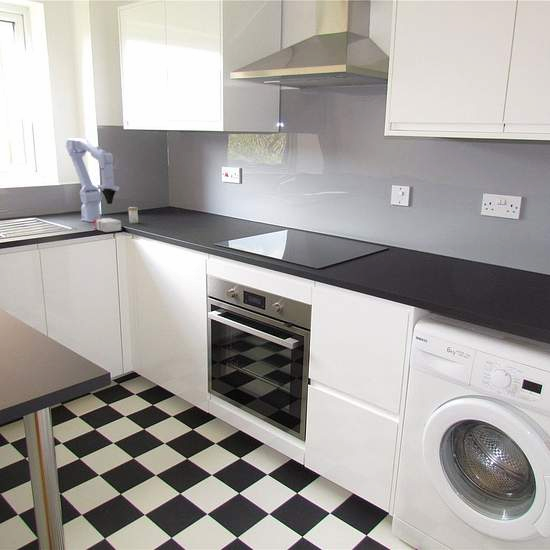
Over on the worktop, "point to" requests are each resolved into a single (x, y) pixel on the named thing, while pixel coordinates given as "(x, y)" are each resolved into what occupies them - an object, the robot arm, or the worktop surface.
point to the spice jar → (133, 215)
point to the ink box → (107, 225)
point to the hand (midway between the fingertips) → (109, 203)
